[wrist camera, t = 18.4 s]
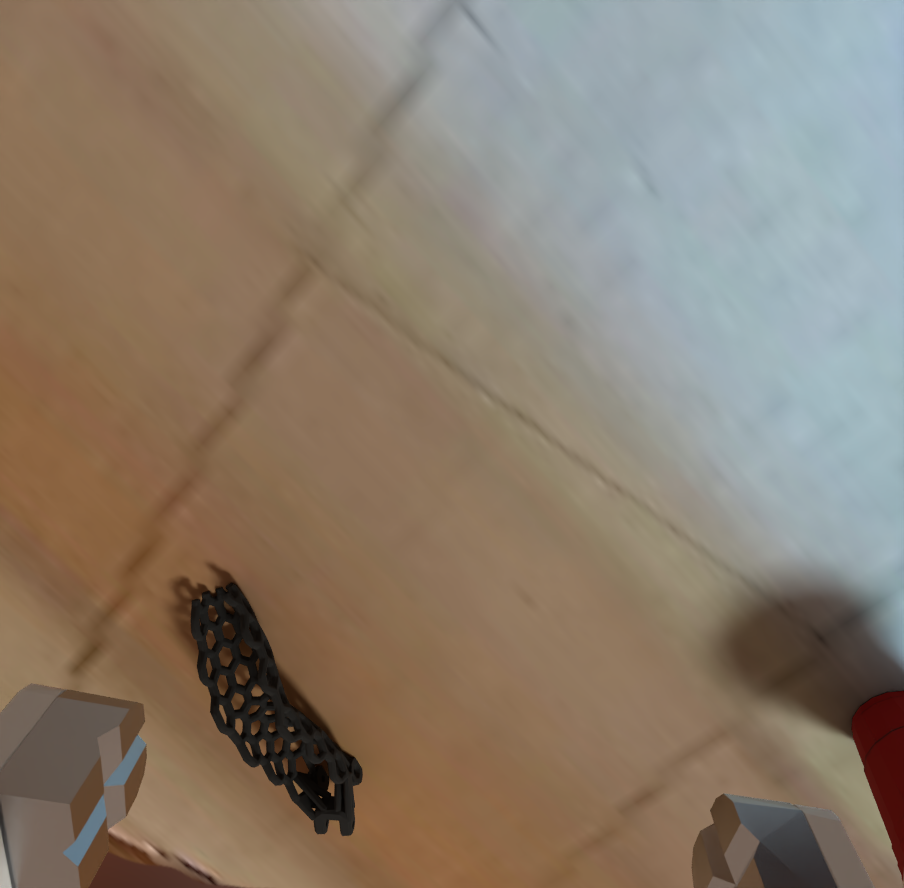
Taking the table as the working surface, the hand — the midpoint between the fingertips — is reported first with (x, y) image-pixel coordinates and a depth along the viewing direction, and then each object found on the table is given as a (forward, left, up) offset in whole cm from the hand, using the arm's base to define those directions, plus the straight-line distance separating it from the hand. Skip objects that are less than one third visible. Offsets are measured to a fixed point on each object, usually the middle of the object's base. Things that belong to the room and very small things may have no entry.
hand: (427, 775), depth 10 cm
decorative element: (-8, -33, -32) cm, 46 cm away
